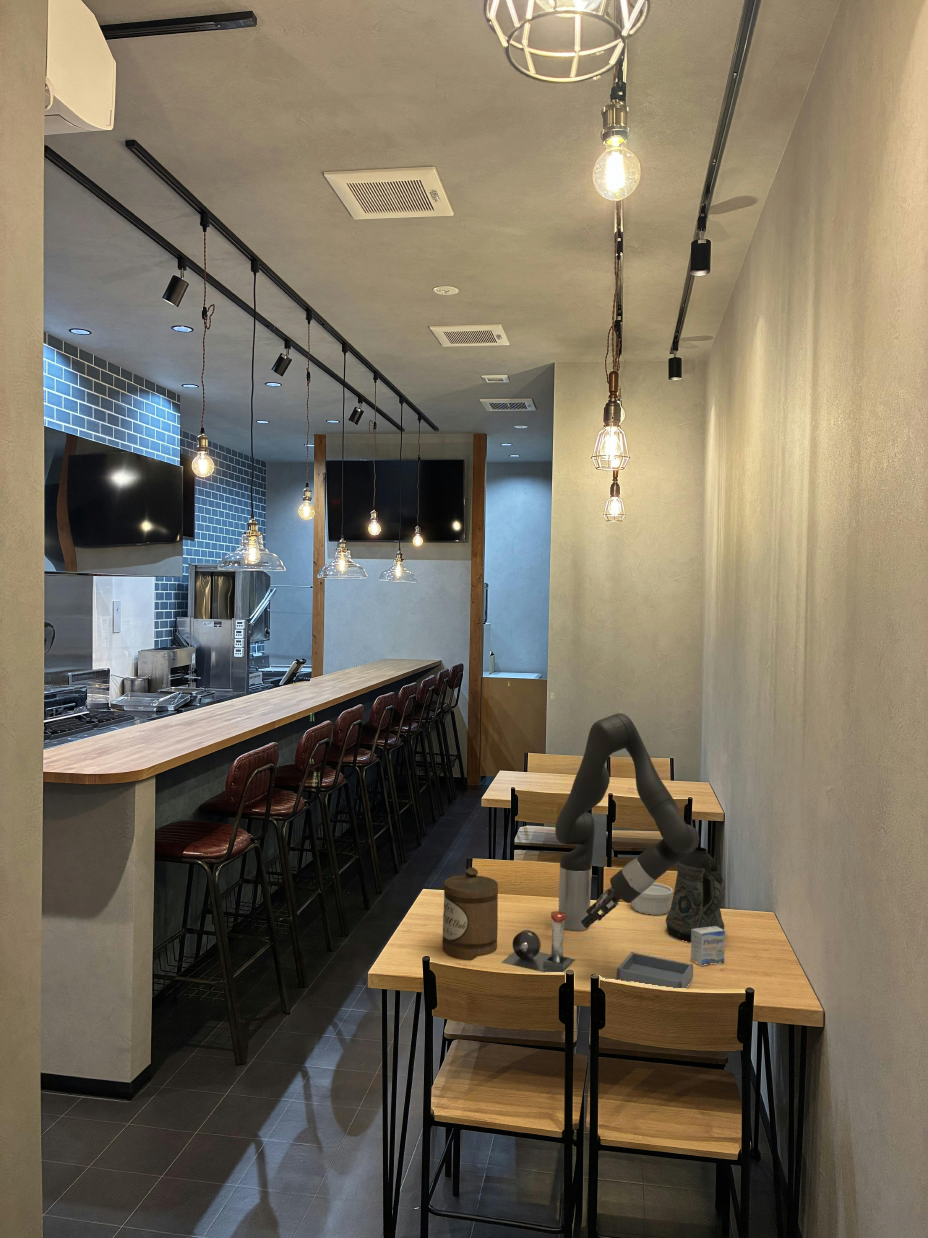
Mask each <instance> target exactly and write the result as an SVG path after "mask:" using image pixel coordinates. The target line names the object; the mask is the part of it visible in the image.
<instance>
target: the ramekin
mask: <svg viewBox="0 0 928 1238" xmlns="http://www.w3.org/2000/svg"><path fill="white" fill-rule="evenodd" d="M673 895H674V890H673V888H672V887H670V886H668V885H665V884H663V883H658V882H654V883H653V884H652V885H651V886H650V887H649V888H648V889H646V890H645V891H644V892H643V893H642V894H640V895H639V896H638V897H637V898H636V899H634V900H633V901H632V902H631V907H632V908H633V910H634V911H636V912H637V911H638V913H641V914H643V913H644V914H643V915H648V914H651V915H650V916H662V915H665V914H668V913H669V911H670V908H671V904H672V900H673Z"/></svg>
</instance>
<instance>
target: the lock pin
mask: <svg viewBox="0 0 928 1238" xmlns="http://www.w3.org/2000/svg"><path fill="white" fill-rule="evenodd" d="M550 918H551V920H552V922H551V923H552V924H551V925H552V926H551V947H550V948H551V950H550V954H551V961H552V962H557V963H561V964H562V963H563V956H564V938H565V937H564V936H565V935H564V934H565V933H564V932H565V929H564V920H566V913H564V912H560V911H558V910H555V911H551V912H550Z"/></svg>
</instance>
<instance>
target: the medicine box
mask: <svg viewBox="0 0 928 1238" xmlns="http://www.w3.org/2000/svg"><path fill="white" fill-rule="evenodd" d="M725 943H726V931H725V929H724V930H723V929H721V928H719V927H717V926H710V927H703V928H695V929H691V943H690V961H691V960H693V961H694V962H693V961H692V962H693V963H695V962H697V963H698V964H700V965H704V964H710V963H718V964H720V963H719V962H723V963H725V951H726V950H725V947H726V945H725ZM697 963H696V964H697ZM698 964H697V965H698ZM700 965H699V966H700Z"/></svg>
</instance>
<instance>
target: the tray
mask: <svg viewBox="0 0 928 1238" xmlns="http://www.w3.org/2000/svg"><path fill="white" fill-rule="evenodd" d="M692 977H693V978H694V964H693V963H692V964H691V963H687V962H681V961H677V960H673V959H667V958H662V957H658V956H657V957H656V956H652V955H647V954H642V953H639V952H638V953H637V952H633V951H631V952H630V953H629V954H628V955H627V956H626V958H624V960H623V961H622V962H621V964H620V965H619V966H618V967H617V969H616V980H618V979H621V980H620V981H622V980H626V981H625V982H627V981H634V982H639V983H645V984H652V985H658V986H666V987H673V988H687V989H688V987H689V986H688V984H689V983H690V984H691V982H692V981H691V979H692ZM692 980H693V979H692ZM690 981H691V982H690ZM690 984H689V985H690ZM687 986H688V987H687Z"/></svg>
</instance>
